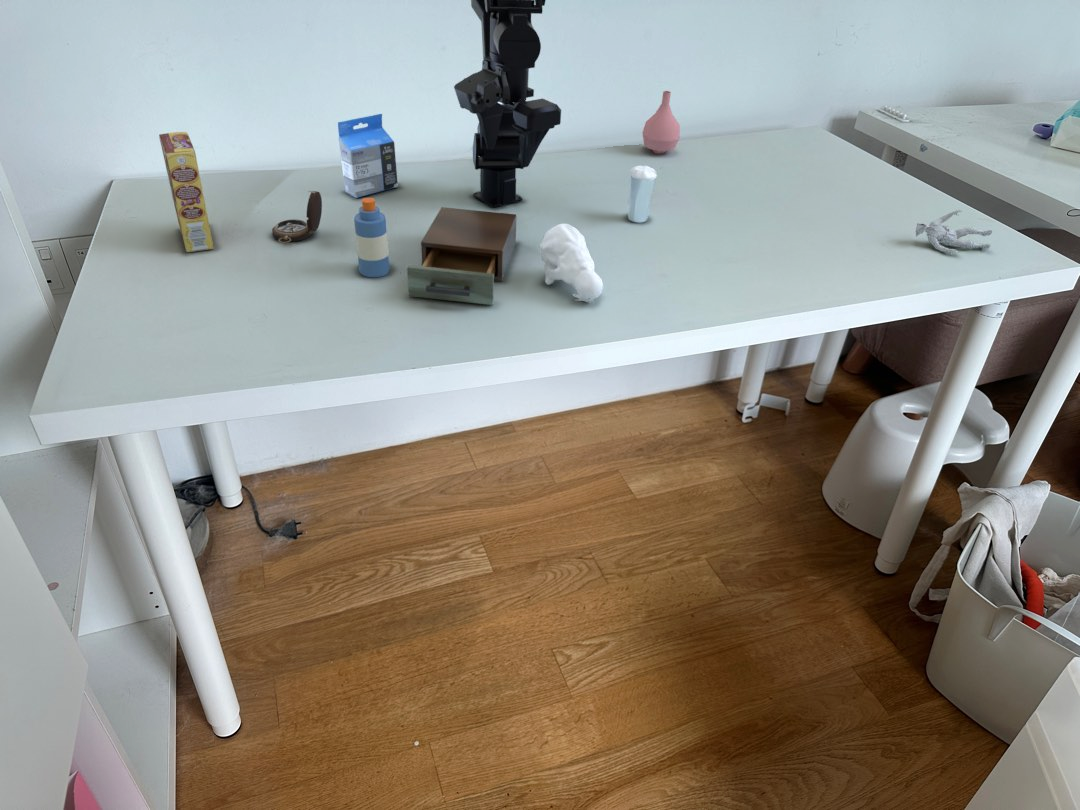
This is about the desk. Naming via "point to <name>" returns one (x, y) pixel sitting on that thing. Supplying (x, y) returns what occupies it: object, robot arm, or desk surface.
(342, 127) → the label tape box
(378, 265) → the glue bottle
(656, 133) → the pink vase
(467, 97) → the robot arm
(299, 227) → the compass
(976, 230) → the soldier figure
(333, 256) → the desk surface
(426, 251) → the drawer unit
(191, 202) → the candy box
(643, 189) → the milkshake
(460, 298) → the drawer
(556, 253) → the white animal figurine
